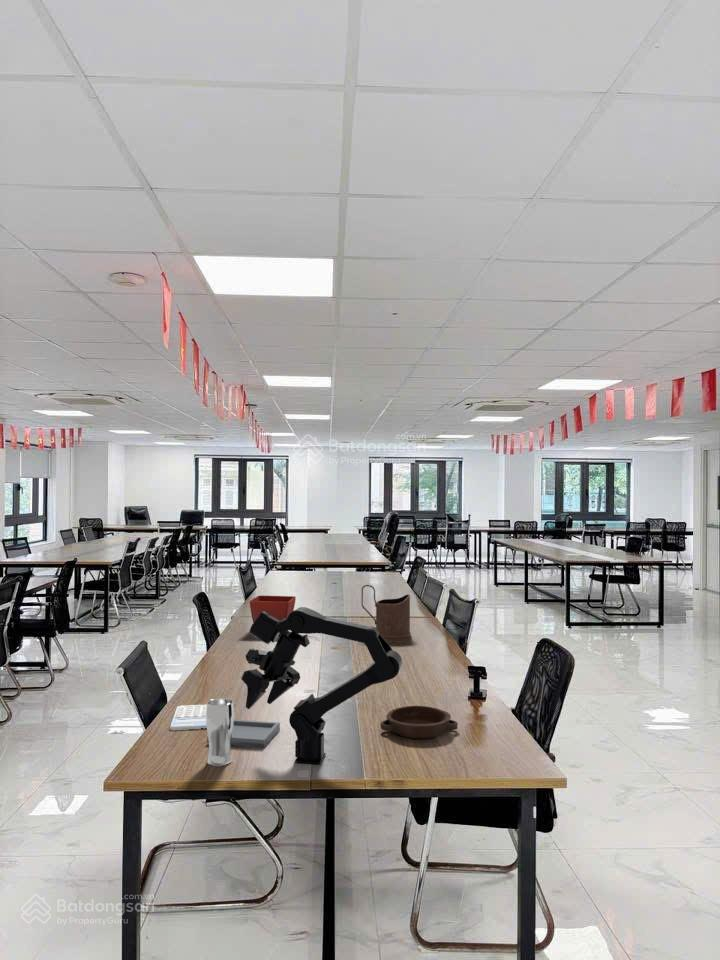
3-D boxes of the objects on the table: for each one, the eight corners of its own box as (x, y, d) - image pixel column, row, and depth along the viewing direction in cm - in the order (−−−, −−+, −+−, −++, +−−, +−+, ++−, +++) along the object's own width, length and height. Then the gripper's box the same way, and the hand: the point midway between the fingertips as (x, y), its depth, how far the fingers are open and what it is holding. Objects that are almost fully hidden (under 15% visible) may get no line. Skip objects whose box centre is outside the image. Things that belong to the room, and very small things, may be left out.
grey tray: (279, 730, 197) (279, 722, 197) (264, 748, 183) (264, 739, 183) (226, 726, 199) (226, 719, 200) (207, 744, 186) (207, 735, 186)
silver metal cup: (200, 761, 173) (200, 701, 174) (223, 754, 178) (224, 696, 179) (215, 769, 168) (216, 707, 169) (239, 761, 173) (239, 701, 174)
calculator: (220, 708, 218) (220, 702, 218) (217, 730, 198) (217, 723, 198) (176, 710, 216) (177, 704, 216) (169, 732, 196) (169, 725, 196)
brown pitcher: (414, 642, 314) (414, 587, 315) (361, 642, 314) (361, 587, 314) (410, 634, 333) (410, 582, 333) (361, 634, 332) (361, 582, 333)
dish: (377, 722, 204) (377, 705, 204) (450, 721, 206) (450, 704, 206) (383, 744, 187) (383, 725, 187) (464, 742, 189) (464, 723, 189)
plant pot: (296, 629, 343) (296, 595, 343) (288, 637, 324) (288, 601, 324) (258, 628, 345) (258, 595, 345) (248, 636, 326) (248, 601, 326)
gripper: (282, 634, 189) (257, 684, 191) (240, 638, 173) (213, 692, 174) (311, 656, 184) (286, 707, 185) (271, 662, 168) (244, 718, 169)
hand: (258, 705), depth 179 cm, fingers open, 9 cm apart
